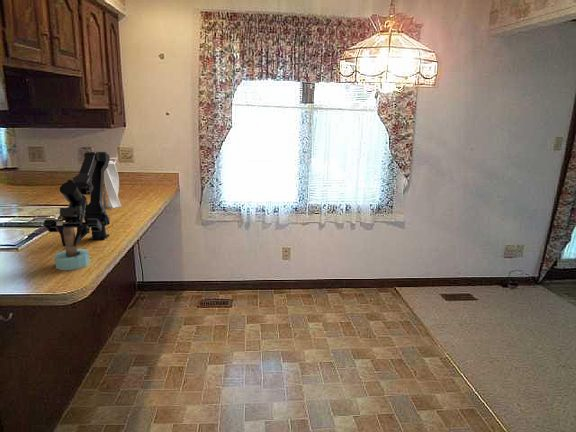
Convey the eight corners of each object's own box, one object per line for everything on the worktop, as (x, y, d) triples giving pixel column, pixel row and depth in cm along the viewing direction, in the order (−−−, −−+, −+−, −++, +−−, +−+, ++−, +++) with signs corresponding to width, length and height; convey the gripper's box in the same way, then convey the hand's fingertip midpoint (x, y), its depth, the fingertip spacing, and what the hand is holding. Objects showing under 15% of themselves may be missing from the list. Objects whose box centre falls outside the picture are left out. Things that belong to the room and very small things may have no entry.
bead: (66, 258, 151) (65, 248, 149) (95, 258, 151) (93, 249, 150) (49, 269, 140) (48, 259, 139) (80, 270, 140) (79, 260, 139)
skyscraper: (115, 204, 230) (111, 156, 223) (124, 206, 227) (120, 158, 219) (102, 207, 223) (97, 158, 216) (112, 209, 219) (107, 159, 212)
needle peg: (67, 260, 146) (62, 227, 142) (78, 259, 147) (73, 226, 144) (67, 264, 143) (62, 230, 139) (78, 262, 144) (74, 229, 141)
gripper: (41, 198, 141) (31, 236, 134) (96, 197, 144) (89, 235, 136) (53, 213, 151) (45, 250, 143) (104, 212, 153) (98, 248, 146)
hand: (69, 246), depth 142 cm, fingers closed on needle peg, 3 cm apart
